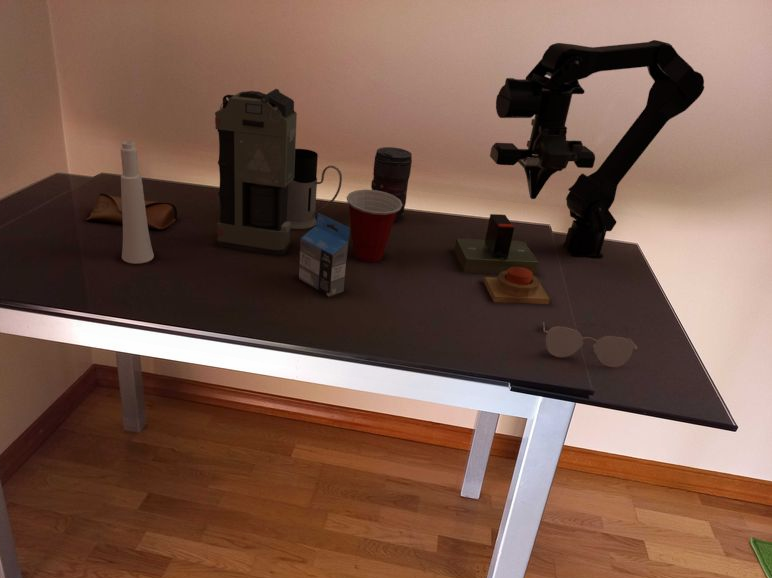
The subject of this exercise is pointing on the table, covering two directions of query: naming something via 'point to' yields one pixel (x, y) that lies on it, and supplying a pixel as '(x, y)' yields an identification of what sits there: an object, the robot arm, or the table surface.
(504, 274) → the button block
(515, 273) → the button
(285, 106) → the device
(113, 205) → the sunglasses case
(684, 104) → the robot arm
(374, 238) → the plastic cup
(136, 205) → the cosmetic bottle
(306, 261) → the ink cartridge box
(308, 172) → the glass holder
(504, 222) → the selector
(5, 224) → the table surface
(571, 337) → the sunglasses
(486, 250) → the panel
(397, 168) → the camera lens
